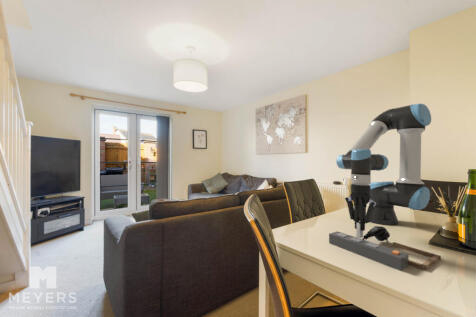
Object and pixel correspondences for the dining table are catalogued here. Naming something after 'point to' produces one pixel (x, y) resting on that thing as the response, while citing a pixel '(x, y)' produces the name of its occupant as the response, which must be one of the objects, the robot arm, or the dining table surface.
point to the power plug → (378, 233)
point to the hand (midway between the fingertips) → (359, 237)
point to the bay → (427, 263)
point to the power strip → (370, 250)
